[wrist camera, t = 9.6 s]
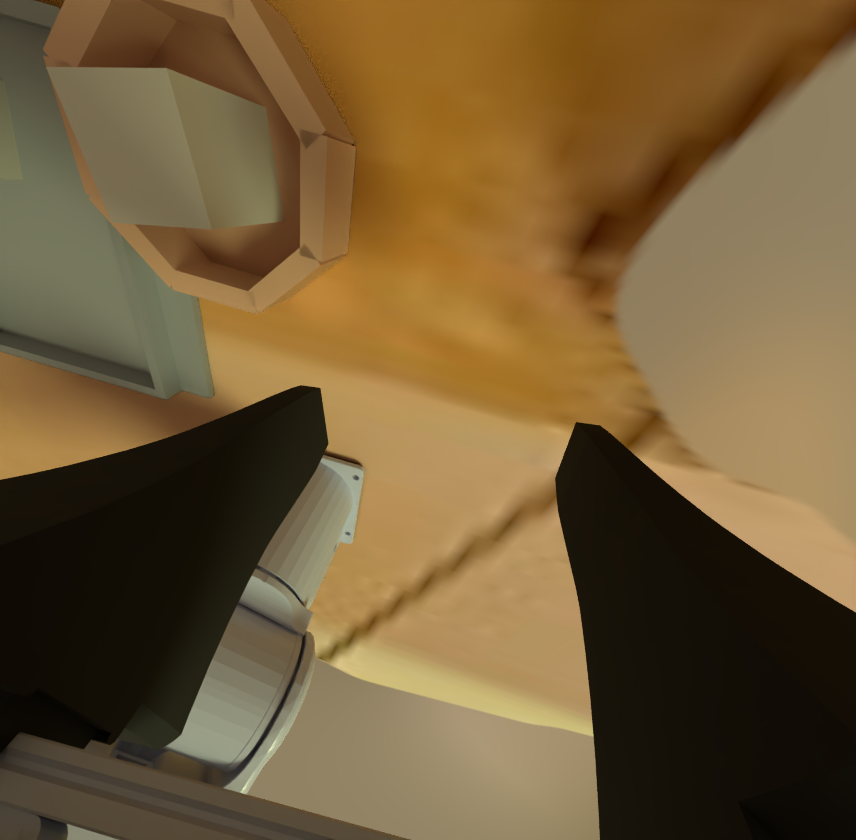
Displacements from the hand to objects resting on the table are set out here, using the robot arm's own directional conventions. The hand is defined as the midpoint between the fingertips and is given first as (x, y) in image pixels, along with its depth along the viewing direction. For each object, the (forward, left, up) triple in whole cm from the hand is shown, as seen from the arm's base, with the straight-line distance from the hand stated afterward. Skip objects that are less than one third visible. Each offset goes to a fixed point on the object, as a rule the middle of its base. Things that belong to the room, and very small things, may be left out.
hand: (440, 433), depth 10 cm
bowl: (+4, +12, -10) cm, 16 cm away
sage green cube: (+4, +12, -9) cm, 16 cm away
